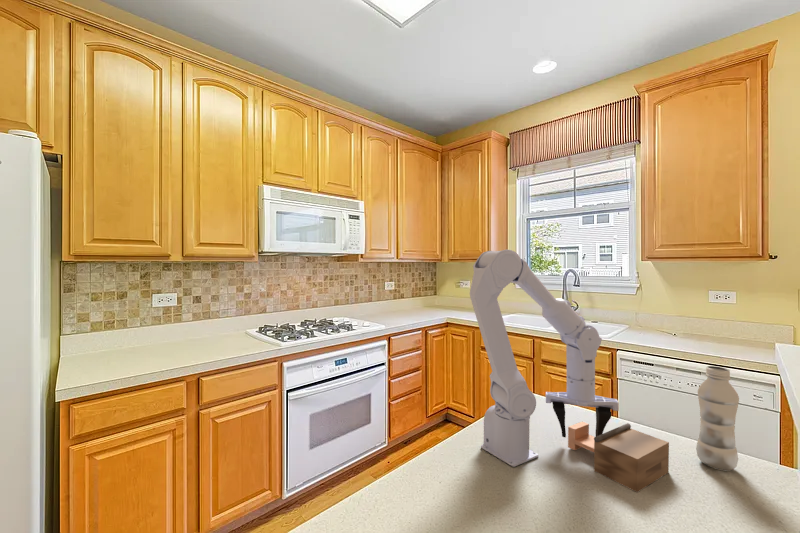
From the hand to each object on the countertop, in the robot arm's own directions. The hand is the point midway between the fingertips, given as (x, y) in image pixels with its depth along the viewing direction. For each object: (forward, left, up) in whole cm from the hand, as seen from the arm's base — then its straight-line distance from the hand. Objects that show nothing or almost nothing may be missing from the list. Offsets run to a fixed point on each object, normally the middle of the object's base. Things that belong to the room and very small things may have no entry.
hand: (580, 437), depth 83 cm
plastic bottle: (+19, +17, -3) cm, 25 cm away
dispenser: (+11, 0, -2) cm, 11 cm away
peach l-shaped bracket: (+6, 0, -2) cm, 6 cm away
